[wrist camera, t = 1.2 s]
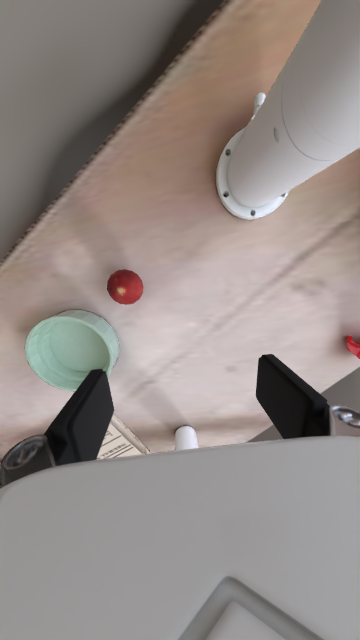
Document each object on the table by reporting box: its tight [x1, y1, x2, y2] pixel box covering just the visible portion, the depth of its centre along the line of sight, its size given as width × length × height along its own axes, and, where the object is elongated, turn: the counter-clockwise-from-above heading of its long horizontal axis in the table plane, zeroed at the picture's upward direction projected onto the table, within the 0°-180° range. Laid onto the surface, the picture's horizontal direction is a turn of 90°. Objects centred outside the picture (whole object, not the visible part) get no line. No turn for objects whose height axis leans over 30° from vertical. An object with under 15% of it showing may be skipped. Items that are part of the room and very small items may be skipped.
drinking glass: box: [175, 426, 199, 451], centre depth 39 cm, size 7×7×15 cm
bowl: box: [25, 310, 119, 392], centre depth 35 cm, size 15×15×5 cm
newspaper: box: [96, 414, 150, 460], centre depth 45 cm, size 37×19×3 cm, turn 122°
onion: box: [107, 270, 143, 304], centre depth 30 cm, size 6×6×8 cm
